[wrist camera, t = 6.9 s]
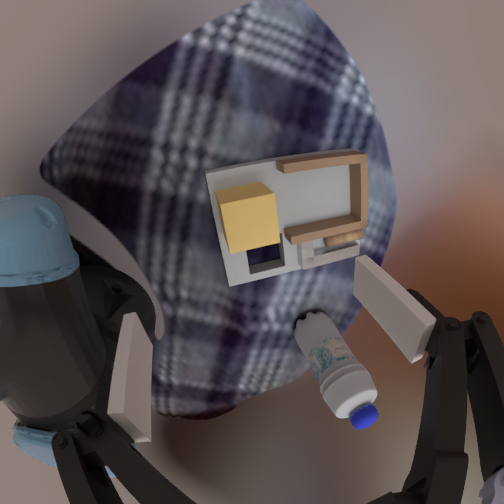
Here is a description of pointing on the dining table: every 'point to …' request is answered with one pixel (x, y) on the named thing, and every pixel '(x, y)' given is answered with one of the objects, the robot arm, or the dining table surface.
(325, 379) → the bottle
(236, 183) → the cubby deck
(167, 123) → the dining table surface
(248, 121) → the dining table surface
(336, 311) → the dining table surface
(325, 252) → the crook tool
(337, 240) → the dowel
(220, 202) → the block
